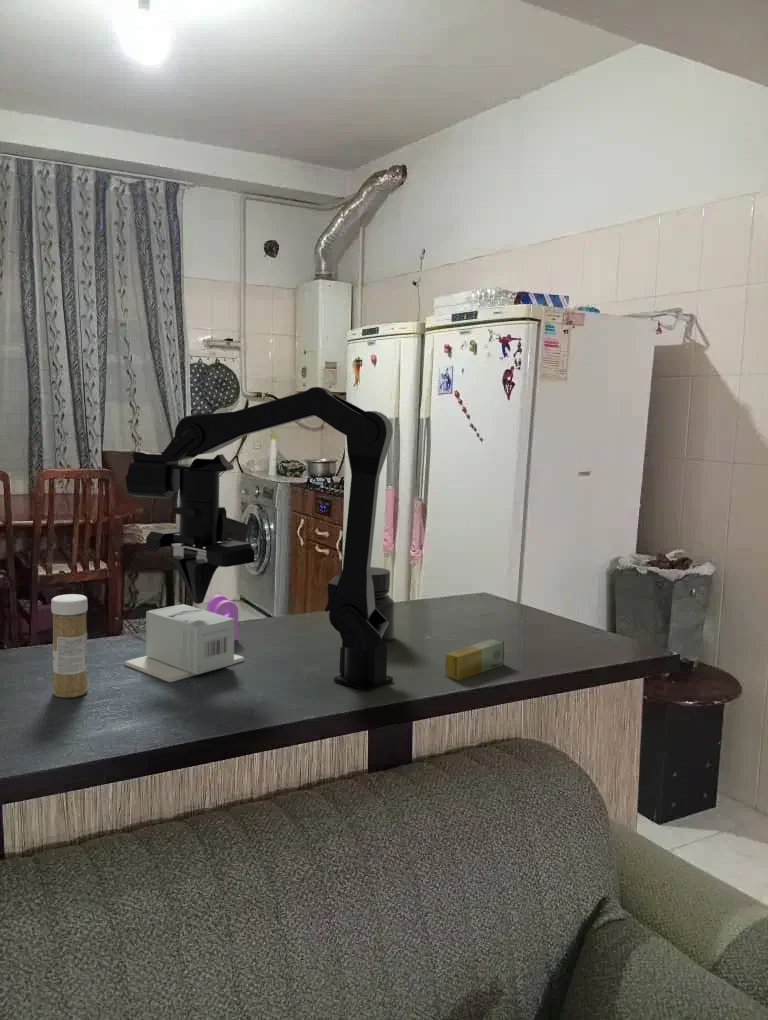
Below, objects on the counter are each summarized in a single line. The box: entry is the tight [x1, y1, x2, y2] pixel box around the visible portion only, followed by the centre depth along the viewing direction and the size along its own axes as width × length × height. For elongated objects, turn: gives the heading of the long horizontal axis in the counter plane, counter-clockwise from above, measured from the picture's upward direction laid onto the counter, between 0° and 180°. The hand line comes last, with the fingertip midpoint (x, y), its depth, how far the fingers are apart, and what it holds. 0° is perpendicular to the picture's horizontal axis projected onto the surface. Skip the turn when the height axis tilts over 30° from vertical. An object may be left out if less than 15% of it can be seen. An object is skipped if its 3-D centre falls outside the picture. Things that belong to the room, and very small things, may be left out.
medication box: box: [444, 638, 505, 681], centre depth 127 cm, size 12×3×4 cm, turn 136°
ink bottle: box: [370, 566, 396, 642], centre depth 142 cm, size 10×9×12 cm
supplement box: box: [145, 603, 235, 676], centre depth 124 cm, size 7×7×13 cm
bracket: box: [206, 594, 239, 641], centre depth 137 cm, size 13×6×7 cm, turn 119°
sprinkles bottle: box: [50, 593, 89, 699], centre depth 110 cm, size 5×5×13 cm
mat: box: [124, 653, 245, 683], centre depth 125 cm, size 11×14×1 cm
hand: (198, 603), depth 122 cm, fingers closed
